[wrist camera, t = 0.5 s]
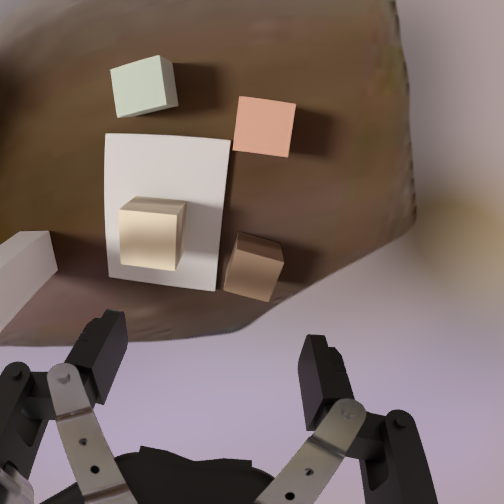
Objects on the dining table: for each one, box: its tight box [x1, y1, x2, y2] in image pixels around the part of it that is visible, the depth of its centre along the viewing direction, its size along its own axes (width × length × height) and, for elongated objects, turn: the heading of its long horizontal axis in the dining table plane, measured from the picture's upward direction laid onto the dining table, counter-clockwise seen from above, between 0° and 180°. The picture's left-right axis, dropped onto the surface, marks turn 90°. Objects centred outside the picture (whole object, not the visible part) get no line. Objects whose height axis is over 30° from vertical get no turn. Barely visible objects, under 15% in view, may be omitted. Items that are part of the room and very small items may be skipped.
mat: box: [104, 133, 231, 291], centre depth 34 cm, size 18×14×1 cm
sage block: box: [111, 55, 179, 118], centre depth 26 cm, size 5×5×5 cm
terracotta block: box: [233, 96, 296, 157], centre depth 28 cm, size 5×5×5 cm
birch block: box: [119, 196, 187, 271], centre depth 32 cm, size 6×6×5 cm
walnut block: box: [224, 231, 284, 302], centre depth 35 cm, size 5×5×5 cm
